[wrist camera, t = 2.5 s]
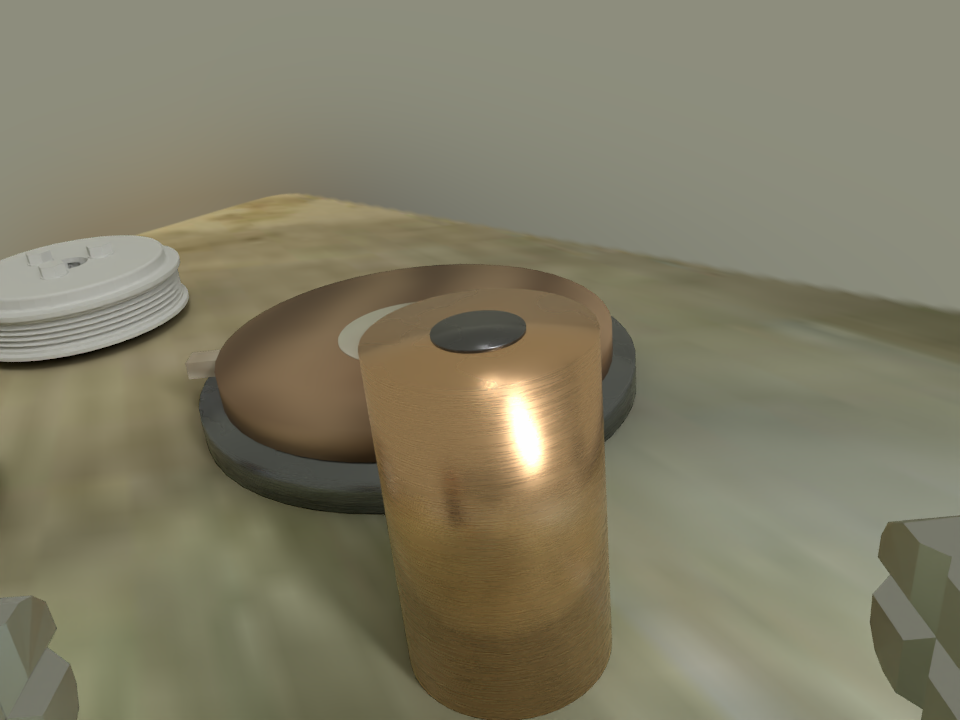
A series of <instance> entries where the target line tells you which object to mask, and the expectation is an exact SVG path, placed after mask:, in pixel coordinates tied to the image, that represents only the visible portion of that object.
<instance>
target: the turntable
mask: <svg viewBox="0 0 960 720" xmlns="http://www.w3.org/2000/svg"><path fill="white" fill-rule="evenodd" d="M481 289H526V290H535V291H543V292H548V293H553V294H557V295H561V296H564V297H567V298H570V299H572V300H575V301H577V302H579V303H581V304H583V305H584V306H586V307H587V308H589V309H590V310H591V311H592V312H593V313H594V314H595V316H596V317H597V319H598V321H599V325H600V341H601V367H602V381H603V380H604V378H605V376H606V375H607V373H608V371H609V368H610V366H611V363H612V356H613V339H612V320H611V316H610V312H609V310H608V309H607V307H606V305H605V304H604V302H603V301H602V300H601V299H600V298H599V297H598V296H596V295H595V294H594V293H593V292H591V291H590V290H588V289H587V288H585V287H584V286H581V285H579V284H577V283H575V282H573V281H571V280H568V279H565V278H562V277H559V276H557V275H553V274H549V273H545V272H541V271H537V270H531V269H525V268H519V267H510V266H501V265H484V264H453V265H434V266H422V267H413V268H405V269H397V270H391V271H385V272H379V273H374V274H369V275H364V276H360V277H355V278H351V279H348V280H344V281H340V282H336V283H333V284H330V285H326V286H323V287H320V288H317V289H314V290H311V291H308V292H306V293H303V294H300V295H298V296H295V297H293V298H291V299H289V300H286V301H284V302H282V303H279V304H278V305H276V306H274V307H272V308H270V309H268V310H266V311H264V312H263V313H261V314H259V315H258V316H256V317H255V318H253V319H251V320H250V321H248V322H247V323H246V324H245V325H243V326H242V327H241V328H239V329H238V330H237V331H236V332H235V333H234V334H233V335H232V336H231V337H230V338H229V339H228V340H227V341H226V343H225V344H224V346H223V347H222V348H221V350H212V351H202V352H193V353H191V355H190V356H189V358H188V360H187V361H186V363H185V365H186V369H187V373H188V376H189V379H196V378H206V377H216V381H217V385H218V389H219V393H220V397H221V401H222V405H223V409H224V412H225V414H226V415H227V417H228V419H229V420H230V422H231V423H232V424H233V425H234V426H235V427H236V428H237V429H238V430H239V431H240V432H241V433H243V434H245V435H246V436H248V437H249V438H251V439H253V440H254V441H256V442H258V443H260V444H263V445H265V446H268V447H270V448H272V449H275V450H278V451H282V452H285V453H289V454H293V455H296V456H302V457H307V458H313V459H319V460H328V461H340V462H374V463H377V462H376V456H375V450H374V444H373V438H372V432H371V426H370V420H369V415H368V409H367V403H366V397H365V391H364V385H363V379H362V373H361V367H360V362H359V356H358V344H359V341H360V338H361V337H362V335H363V334H364V332H365V331H366V330H367V329H368V328H369V327H370V326H371V325H373V324H374V323H375V322H376V321H378V320H379V319H381V318H382V317H384V316H386V315H387V314H389V313H391V312H393V311H395V310H397V309H400V308H402V307H404V306H407V305H409V304H412V303H415V302H418V301H421V300H425V299H428V298H432V297H436V296H441V295H445V294H450V293H456V292H463V291H471V290H481Z"/></svg>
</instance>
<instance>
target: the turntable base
mask: <svg viewBox="0 0 960 720" xmlns="http://www.w3.org/2000/svg"><path fill="white" fill-rule="evenodd" d="M611 320H612V339H613V356H612V363H611V366H610V368H609V371H608V373H607V375H606V376H605V378H604V380H603V381H602V394H603V421H604V442H605V441H606V440H608V439H609V438H610V437H611V436H612V435H613V434H614V433H615V431H616V430H617V429H618V428H619V427H620V426H621V424H622V423H623V422H624V420H625V419H626V417H627V415H628V413H629V411H630V410H631V408H632V405H633V401H634V398H635V394H636V366H635V348H634V345H633V342H632V339H631V337H630V336H629V334H628V333H627V331H626V329H625V328H624V327H623V326H622V325H621V324H620V323H619V322H618V321H617V320H616V319H615V318H613V317H612V316H611ZM199 411H200V416H201V421H202V425H203V428H204V432H205V436H206V440H207V444H208V447H209V451H210V453H211V454H212V456H213V458H214V460H215V462H216V464H217V465H218V466H219V467H220V468H221V469H222V470H223V471H224V472H225V473H226V475H227V476H229V477H230V478H232V479H233V480H234V481H236V482H237V483H239V484H240V485H242V486H243V487H245V488H247V489H249V490H251V491H253V492H255V493H258V494H260V495H262V496H264V497H267V498H270V499H273V500H276V501H280V502H283V503H286V504H289V505H294V506H299V507H304V508H309V509H314V510H322V511H332V512H342V513H372V514H384V513H385V509H384V503H383V497H382V491H381V485H380V479H379V473H378V468H377V463H374V462H340V461H328V460H319V459H313V458H307V457H302V456H296V455H293V454H289V453H285V452H282V451H278V450H275V449H272V448H270V447H268V446H265V445H263V444H260V443H258V442H256V441H254V440H253V439H251V438H249V437H248V436H246V435H245V434H243V433H241V432H240V431H239V430H238V429H237V428H236V427H235V426H234V425H233V424H232V423H231V422H230V420H229V419H228V417H227V415H226V414H225V412H224V409H223V405H222V401H221V397H220V393H219V389H218V385H217V381H216V377H209V378H208V379H207V381H206V383H205V385H204V387H203V390H202V392H201V395H200V403H199Z"/></svg>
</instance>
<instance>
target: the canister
mask: <svg viewBox="0 0 960 720" xmlns="http://www.w3.org/2000/svg"><path fill="white" fill-rule="evenodd" d="M358 356H359V362H360V367H361V373H362V379H363V385H364V391H365V397H366V403H367V409H368V415H369V420H370V426H371V432H372V438H373V444H374V450H375V456H376V462H377V468H378V473H379V479H380V485H381V491H382V497H383V503H384V509H385V515H386V521H387V526H388V532H389V538H390V544H391V550H392V556H393V562H394V568H395V573H396V579H397V585H398V591H399V597H400V603H401V609H402V615H403V621H404V626H405V632H406V638H407V644H408V650H409V656H410V661H411V665H412V669H413V672H414V674H415V676H416V678H417V680H418V681H419V683H420V684H421V686H422V687H423V688H424V689H425V690H426V692H427V693H428V694H429V695H430V696H432V697H433V698H434V699H435V700H437V701H438V702H439V703H441V704H443V705H444V706H446V707H448V708H449V709H452V710H454V711H456V712H459V713H461V714H464V715H468V716H471V717H475V718H481V719H487V720H521V719H528V718H533V717H537V716H541V715H545V714H548V713H550V712H553V711H556V710H558V709H561V708H562V707H564V706H566V705H568V704H570V703H572V702H573V701H575V700H576V699H578V698H579V697H581V696H582V695H583V694H584V693H586V692H587V691H588V690H589V689H590V688H591V687H592V686H593V685H594V684H595V683H596V681H597V680H598V679H599V678H600V676H601V675H602V673H603V671H604V670H605V668H606V665H607V663H608V660H609V657H610V653H611V645H612V634H611V607H610V580H609V554H608V527H607V501H606V474H605V447H604V421H603V394H602V367H601V341H600V325H599V321H598V319H597V317H596V316H595V314H594V313H593V312H592V311H591V310H590V309H589V308H587V307H586V306H584V305H583V304H581V303H579V302H577V301H575V300H572V299H570V298H567V297H564V296H561V295H557V294H553V293H548V292H543V291H535V290H526V289H481V290H471V291H463V292H456V293H450V294H445V295H441V296H436V297H432V298H428V299H425V300H421V301H418V302H415V303H412V304H409V305H407V306H404V307H402V308H400V309H397V310H395V311H393V312H391V313H389V314H387V315H386V316H384V317H382V318H381V319H379V320H378V321H376V322H375V323H374V324H373V325H371V326H370V327H369V328H368V329H367V330H366V331H365V332H364V334H363V335H362V337H361V338H360V341H359V344H358Z"/></svg>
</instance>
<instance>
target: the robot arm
mask: <svg viewBox="0 0 960 720" xmlns="http://www.w3.org/2000/svg"><path fill="white" fill-rule="evenodd" d="M878 558H879V559H880V561H881V562H882V564H883V565H884V566H885V568H886V569H887V571H888V572H889V573H890V576H889V577H888V578H887V579H886V580H885V581H884V582H883V583H882V584H881V585H880V587H879V588H878V589H877V590H876V591H875V592H874V593H873V595H872V606H871V616H870V625H871V631H872V637H873V643H874V649H875V652H876V655H877V657H878V660H879V663H880V665H881V668H882V670H883V672H884V674H885V676H886V677H887V679H888V681H889V682H890V684H891V686H892V688H893V689H894V691H895V693H897V694H899V695H900V696H902V697H903V698H905V699H907V700H908V701H910V702H912V703H913V704H915V705H916V706H918V707H920V708H921V709H923V711H922V717H921V720H960V515H959V516H948V517H937V518H926V519H915V520H904V521H893V522H888V524H887V526H886V528H885V529H884V531H883V533H882V535H881V540H880V546H879V553H878ZM56 629H57V627H56V625H55V623H54V620H53V618H52V616H51V613H50V611H49V608H48V606H47V604H46V602H45V601H43V600H41V599H38V598H36V597H34V596H21V597H5V598H0V720H77V717H78V711H79V702H78V692H77V683H76V680H75V677H74V675H73V672H72V669H71V666H70V664H69V663H68V662H66V661H65V660H64V659H62V658H61V657H60V656H58V655H57V654H56V653H54V652H53V651H52V650H50V649H49V648H48V645H49V643H50V641H51V639H52V637H53V635H54V633H55V631H56Z"/></svg>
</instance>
